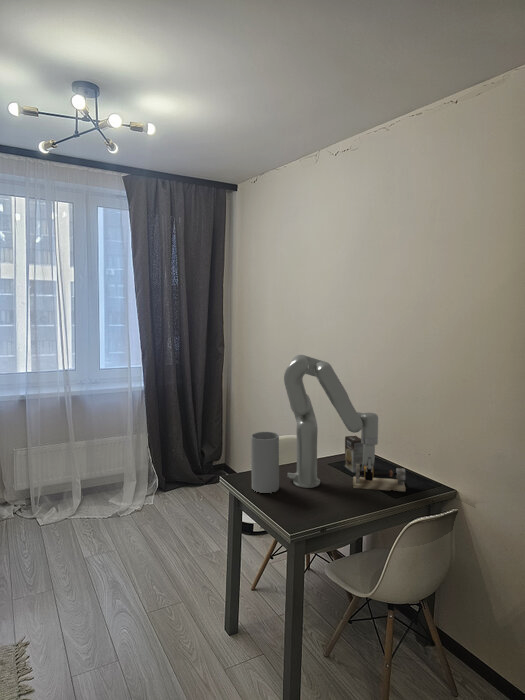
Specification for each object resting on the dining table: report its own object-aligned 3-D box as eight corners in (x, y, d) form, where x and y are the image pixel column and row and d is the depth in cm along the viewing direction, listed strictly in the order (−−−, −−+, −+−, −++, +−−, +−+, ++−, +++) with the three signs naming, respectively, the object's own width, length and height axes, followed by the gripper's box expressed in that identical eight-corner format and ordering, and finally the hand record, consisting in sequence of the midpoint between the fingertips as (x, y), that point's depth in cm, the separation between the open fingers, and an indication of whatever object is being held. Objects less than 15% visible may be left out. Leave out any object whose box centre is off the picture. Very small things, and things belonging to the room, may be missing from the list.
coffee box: (344, 466, 237) (344, 436, 235) (355, 465, 239) (355, 435, 237) (352, 473, 228) (353, 441, 227) (364, 471, 230) (364, 440, 229)
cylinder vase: (279, 494, 204) (279, 439, 201) (251, 494, 204) (250, 440, 201) (278, 483, 216) (278, 431, 213) (251, 483, 216) (251, 431, 213)
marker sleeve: (364, 477, 212) (364, 469, 211) (364, 474, 216) (364, 465, 216) (373, 478, 211) (373, 469, 211) (372, 475, 215) (373, 466, 215)
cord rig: (353, 487, 210) (353, 469, 209) (353, 479, 220) (353, 462, 219) (405, 491, 206) (406, 472, 205) (403, 482, 216) (403, 465, 215)
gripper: (360, 434, 221) (360, 471, 223) (361, 445, 204) (360, 484, 206) (376, 435, 219) (376, 472, 221) (378, 446, 203) (378, 485, 205)
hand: (368, 477), depth 214 cm, fingers closed on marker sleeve, 4 cm apart
